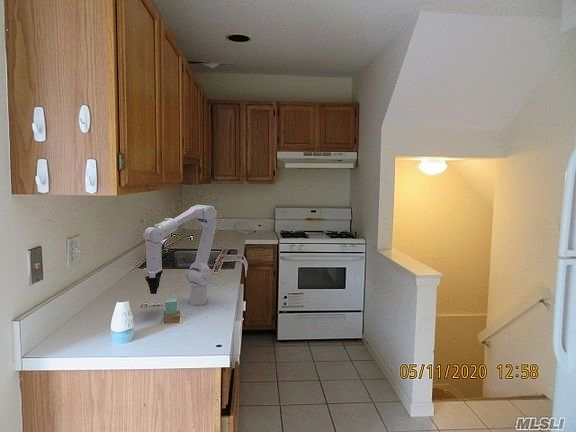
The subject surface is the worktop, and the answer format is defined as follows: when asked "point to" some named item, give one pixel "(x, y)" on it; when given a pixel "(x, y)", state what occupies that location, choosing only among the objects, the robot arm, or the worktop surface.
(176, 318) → the walnut slab
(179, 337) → the worktop surface
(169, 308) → the teal block
